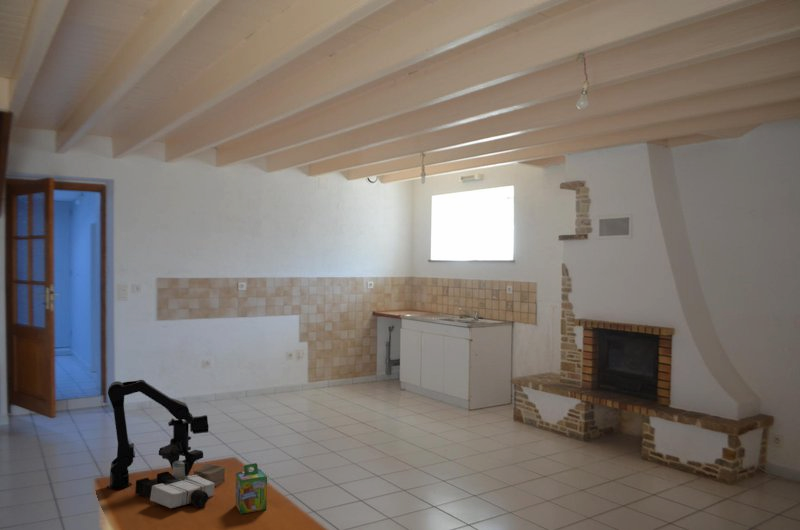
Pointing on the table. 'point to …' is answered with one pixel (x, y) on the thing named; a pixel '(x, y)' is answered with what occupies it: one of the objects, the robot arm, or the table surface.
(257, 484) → the chalk box
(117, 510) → the table surface
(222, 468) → the beige box
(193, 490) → the toy
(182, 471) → the beaker
